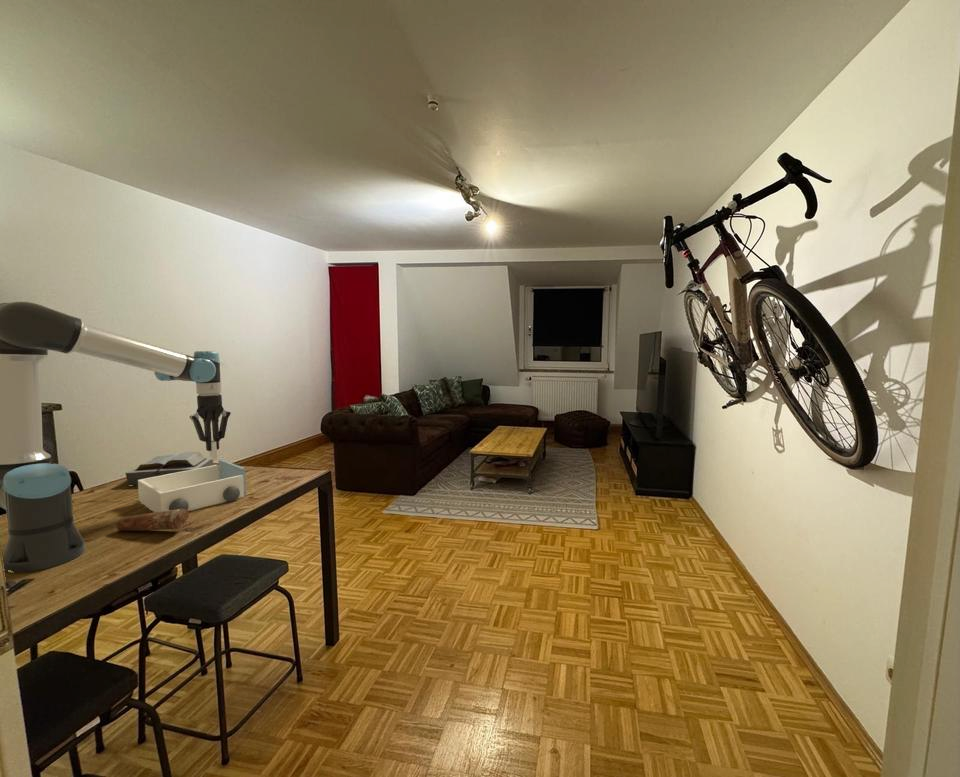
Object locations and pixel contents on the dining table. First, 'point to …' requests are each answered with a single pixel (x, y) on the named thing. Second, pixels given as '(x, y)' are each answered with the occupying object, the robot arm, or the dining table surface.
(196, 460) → the bible
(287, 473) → the dining table surface
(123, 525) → the bread
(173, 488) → the white toy wagon
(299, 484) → the dining table surface
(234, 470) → the tailgate
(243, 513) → the dining table surface
